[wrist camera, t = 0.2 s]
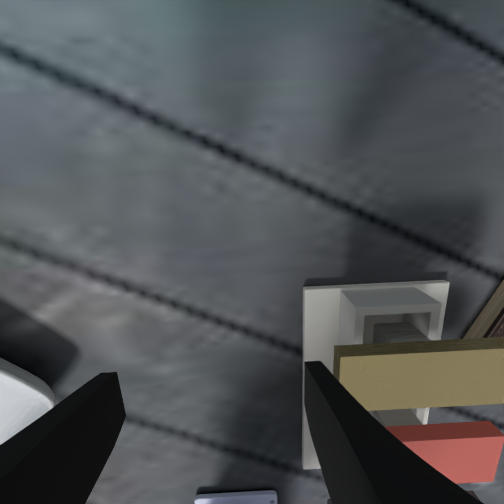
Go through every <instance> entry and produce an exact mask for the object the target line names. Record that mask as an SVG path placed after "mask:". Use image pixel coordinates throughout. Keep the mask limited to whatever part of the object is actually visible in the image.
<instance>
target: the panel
mask: <svg viewBox="0 0 504 504" xmlns="http://www.w3.org/2000/svg"><path fill="white" fill-rule="evenodd" d="M449 285H450V282H448V281H445V280H429V281H409V282H389V283H369V284H349V285H329V286H309V287H303V379H302V465H303V469H320V468H321V467H320V464H319V461H318V457H317V454H316V451H315V448H314V445H313V441H312V438H311V435H310V430H309V425H308V421H307V416H306V411H305V406H304V362H306V361H321V362H322V363H323V364H324V365H325V366H326V367H327V368H328V370H329V371H330V372H331V373H332V374H333V361H334V346H335V345H355V344H372V343H373V332H374V324H378V323H398V322H410V323H411V324H412V325H413V326H414V327H416V328H417V329H418V330H419V331H420V332H422V333H423V334H424V335H425V336H426V337H428V338H429V339H430V340H441V334H442V328H443V322H444V315H445V309H446V303H447V297H448V291H449ZM429 408H430V407H429ZM429 408H411V410H412V411H413V412H414V414H415V415H416V416H417V418H418V419H419V420H420V422H421V423H422V424H423V425H424V424H427V420H428V414H429Z"/></svg>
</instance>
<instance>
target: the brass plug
mask: <svg viewBox="0 0 504 504" xmlns="http://www.w3.org/2000/svg"><path fill="white" fill-rule="evenodd" d="M333 375H334V376H335V377H336V379H337V380H338V381H339V382H340V383H341V384H342V385H343V386H344V387H345V388H346V390H347V391H348V392H349V393H350V394H351V395H352V396H353V397H354V398H355V399H356V400H357V401H358V402H359V403H360V404H361V405H362V406H363V407H364V408H365V409H366V410H367V411H374V410H393V409H411V408H429V407H448V406H466V405H485V404H503V403H504V337H489V338H470V339H451V340H430V339H429V338H428V337H426V336H425V335H424V334H423V333H422V332H420V331H419V330H418V329H417V328H416V327H414V326H413V325H412V324H411V323H410V322H398V323H378V324H374V332H373V343H372V344H355V345H335V346H334V361H333Z"/></svg>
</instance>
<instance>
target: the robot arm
mask: <svg viewBox="0 0 504 504" xmlns="http://www.w3.org/2000/svg"><path fill="white" fill-rule="evenodd" d="M304 406H305V411H306V416H307V421H308V425H309V430H310V435H311V438H312V441H313V445H314V448H315V451H316V454H317V457H318V461H319V464H320V467H321V470H322V473H323V476H324V480H325V483H326V486H327V489H328V492H329V495H330V499H331V502H332V504H484V503H482V502H481V501H479V500H478V499H476V498H475V497H473V496H472V495H470V494H469V493H468V492H466V491H465V490H463V489H462V488H461V487H459V486H458V485H457V484H455V483H454V482H452V481H451V480H450V479H448V478H447V477H446V476H444V475H443V474H442V473H440V472H439V471H437V470H436V469H435V468H433V467H432V466H431V465H429V464H428V463H427V462H426V461H424V460H423V459H422V458H420V457H419V456H418V455H417V454H416V453H414V452H413V451H412V450H411V449H409V448H408V447H407V446H406V445H405V444H403V443H402V442H401V441H400V440H399V439H397V438H396V437H395V436H394V435H393V434H392V433H391V432H389V431H388V430H387V429H386V428H385V427H384V426H383V425H382V424H381V423H380V422H379V421H378V420H376V419H375V418H374V417H373V416H372V415H371V414H370V413H369V412H368V411H367V410H366V409H365V408H364V407H363V406H362V405H361V404H360V403H359V402H358V401H357V400H356V399H355V398H354V397H353V396H352V395H351V394H350V393H349V392H348V391H347V390H346V388H345V387H344V386H343V385H342V384H341V383H340V382H339V381H338V380H337V379H336V377H335V376H334V375H333V374H332V373H331V372H330V371H329V370H328V368H327V367H326V366H325V365H324V364H323V363H322V362H321V361H306V362H304ZM125 417H126V413H125V409H124V404H123V399H122V394H121V390H120V385H119V380H118V375H117V372H110V373H100V374H99V375H97V376H96V377H94V378H93V379H91V380H90V381H88V382H87V383H86V384H84V385H83V386H82V387H80V388H79V389H77V390H76V391H75V392H73V393H72V394H71V395H69V396H68V397H67V398H65V399H64V400H63V401H61V402H60V403H59V404H57V405H56V406H54V407H53V408H52V409H50V410H49V411H48V412H46V413H45V414H44V415H42V416H41V417H39V418H38V419H37V420H35V421H34V422H32V423H31V424H30V425H28V426H27V427H25V428H24V429H22V430H21V431H20V432H18V433H17V434H15V435H14V436H12V437H11V438H10V439H8V440H7V441H5V442H4V443H2V444H1V445H0V504H85V503H86V501H87V499H88V497H89V495H90V493H91V491H92V489H93V487H94V485H95V483H96V481H97V479H98V478H99V476H100V474H101V472H102V470H103V468H104V466H105V464H106V462H107V460H108V458H109V456H110V454H111V452H112V450H113V448H114V446H115V443H116V441H117V438H118V436H119V433H120V431H121V428H122V425H123V422H124V420H125ZM195 504H277V493H276V491H274V490H266V491H249V492H231V493H213V494H199V495H197V496H196V497H195Z"/></svg>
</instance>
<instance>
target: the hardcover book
mask: <svg viewBox="0 0 504 504" xmlns="http://www.w3.org/2000/svg"><path fill="white" fill-rule="evenodd" d="M489 337H504V280H503V281H502V283H501V284H500V285H499V287H498V288H497V290H496V291H495V293H494V294H493V296H492V297H491V298H490V300H489V301H488V303H487V304H486V306H485V307H484V309H483V310H482V311H481V313H480V314H479V316H478V317H477V319H476V320H475V322H474V323H473V324H472V326H471V327H470V329H469V330H468V332H467V333H466V335H465V336H464V337H463V339H470V338H489Z"/></svg>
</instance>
